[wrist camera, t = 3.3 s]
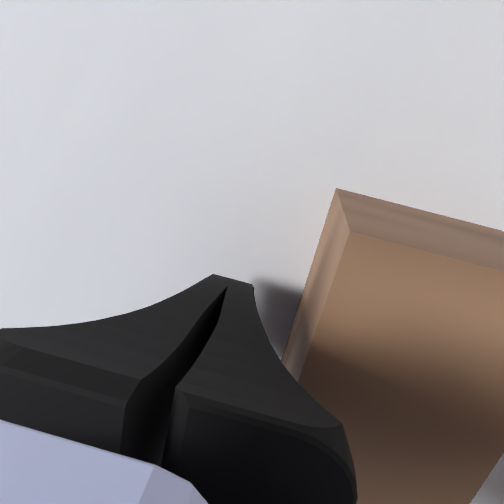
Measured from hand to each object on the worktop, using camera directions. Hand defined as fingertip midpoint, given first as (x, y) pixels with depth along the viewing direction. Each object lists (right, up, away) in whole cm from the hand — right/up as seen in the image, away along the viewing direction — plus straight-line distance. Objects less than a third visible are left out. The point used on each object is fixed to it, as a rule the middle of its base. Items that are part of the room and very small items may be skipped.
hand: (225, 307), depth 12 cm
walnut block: (+5, -1, +1) cm, 5 cm away
